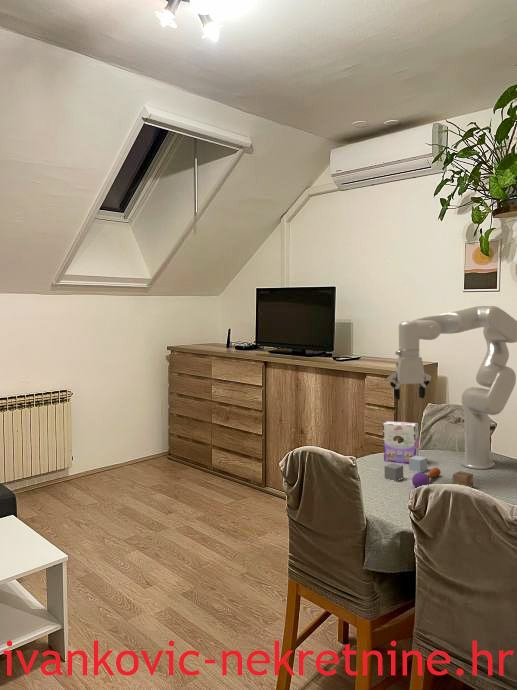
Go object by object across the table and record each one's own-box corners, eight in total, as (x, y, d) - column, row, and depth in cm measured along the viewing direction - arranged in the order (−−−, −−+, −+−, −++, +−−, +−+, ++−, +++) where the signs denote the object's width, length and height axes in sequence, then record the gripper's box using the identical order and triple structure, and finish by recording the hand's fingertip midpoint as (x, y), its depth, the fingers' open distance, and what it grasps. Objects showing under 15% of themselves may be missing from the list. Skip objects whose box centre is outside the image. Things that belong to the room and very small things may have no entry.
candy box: (419, 461, 234) (418, 422, 233) (415, 464, 229) (415, 425, 228) (387, 457, 241) (386, 420, 240) (383, 461, 236) (382, 423, 235)
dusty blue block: (416, 467, 226) (416, 455, 225) (427, 470, 222) (427, 457, 222) (409, 470, 222) (409, 458, 222) (420, 473, 219) (420, 460, 218)
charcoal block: (392, 475, 217) (392, 463, 216) (403, 478, 213) (403, 465, 212) (384, 479, 213) (384, 466, 213) (395, 481, 210) (395, 468, 209)
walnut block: (460, 484, 204) (460, 471, 203) (473, 487, 200) (473, 473, 200) (453, 487, 201) (452, 474, 200) (466, 490, 197) (465, 477, 196)
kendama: (445, 466, 213) (427, 477, 196) (442, 481, 213) (424, 493, 197) (430, 461, 216) (411, 472, 200) (427, 476, 217) (408, 487, 201)
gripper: (390, 355, 206) (391, 401, 207) (435, 353, 208) (435, 399, 209) (383, 353, 213) (384, 397, 215) (426, 352, 216) (427, 395, 217)
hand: (409, 398), depth 212 cm, fingers open, 9 cm apart
